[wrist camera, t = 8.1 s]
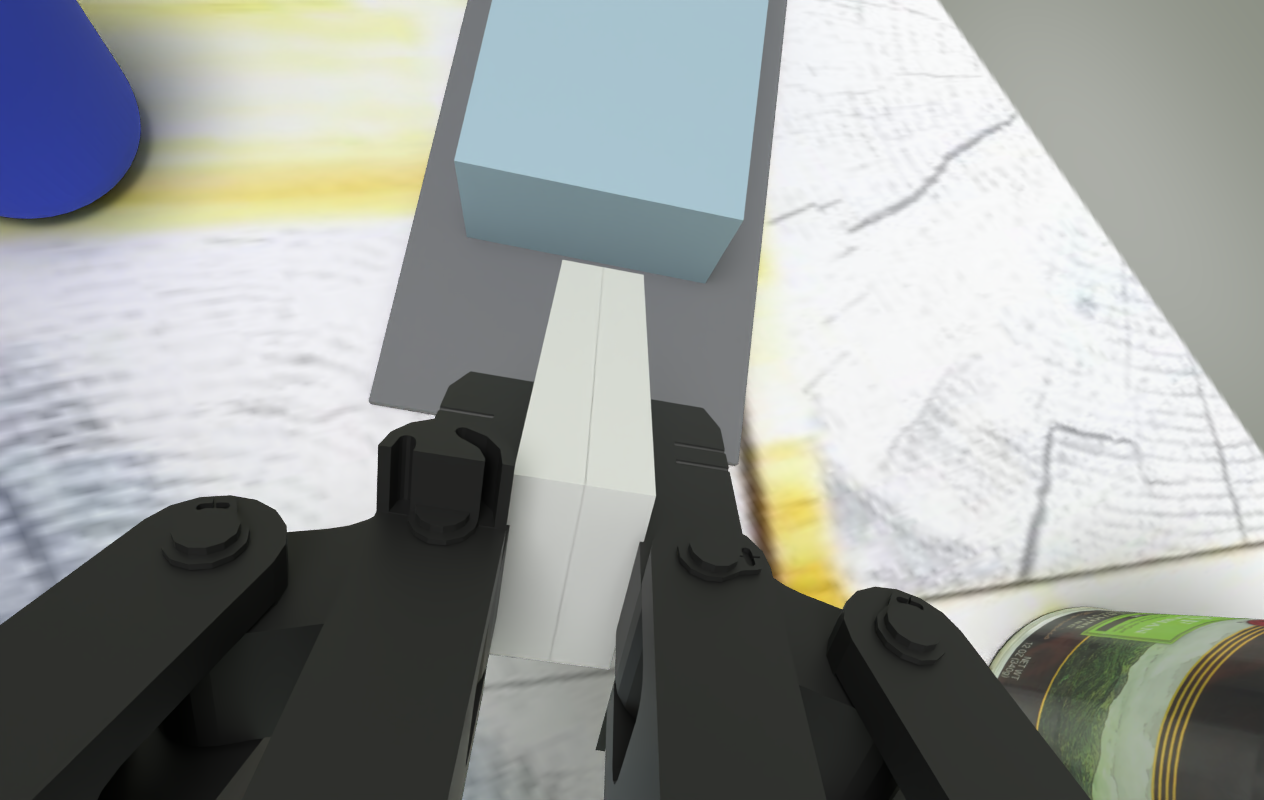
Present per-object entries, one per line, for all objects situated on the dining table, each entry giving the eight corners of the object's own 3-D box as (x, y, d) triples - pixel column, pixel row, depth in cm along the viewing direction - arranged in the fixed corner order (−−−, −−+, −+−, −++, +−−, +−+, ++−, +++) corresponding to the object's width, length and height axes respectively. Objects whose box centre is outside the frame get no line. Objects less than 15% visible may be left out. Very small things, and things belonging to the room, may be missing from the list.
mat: (734, 465, 26) (738, 464, 26) (371, 404, 25) (368, 401, 24) (790, -57, 32) (793, -65, 32) (502, -129, 31) (501, -138, 31)
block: (743, 220, 23) (787, -165, 27) (454, 160, 22) (546, -229, 26) (705, 283, 27) (747, -51, 32) (466, 236, 26) (542, -102, 31)
